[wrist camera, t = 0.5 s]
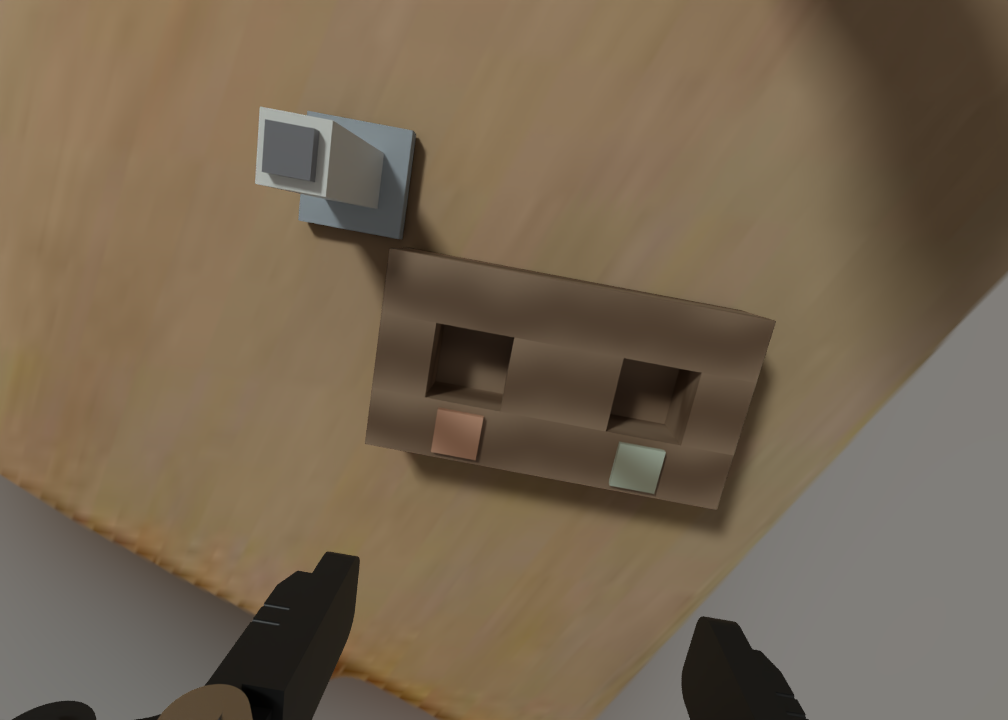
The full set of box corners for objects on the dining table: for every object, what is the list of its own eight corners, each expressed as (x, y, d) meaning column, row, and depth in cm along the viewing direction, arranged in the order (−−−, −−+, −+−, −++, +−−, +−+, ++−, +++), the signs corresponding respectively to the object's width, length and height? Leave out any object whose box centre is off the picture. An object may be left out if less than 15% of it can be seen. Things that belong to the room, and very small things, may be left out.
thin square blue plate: (313, 114, 34) (307, 110, 33) (416, 133, 34) (412, 130, 33) (304, 220, 35) (298, 220, 34) (402, 239, 35) (398, 239, 34)
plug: (330, 143, 33) (253, 103, 24) (384, 153, 33) (328, 117, 24) (325, 199, 34) (248, 182, 24) (377, 209, 34) (320, 195, 24)
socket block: (408, 247, 35) (387, 248, 30) (741, 310, 35) (779, 322, 30) (385, 418, 38) (362, 446, 33) (692, 476, 38) (719, 513, 33)
